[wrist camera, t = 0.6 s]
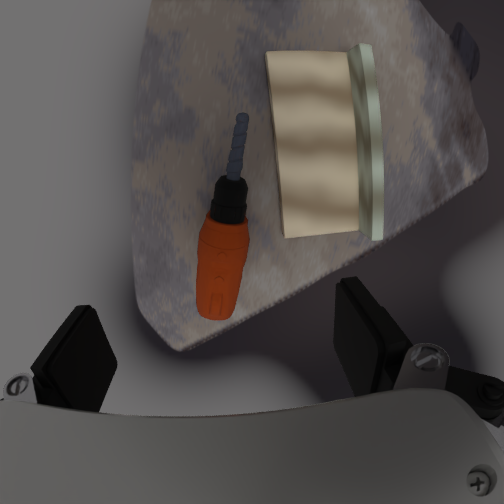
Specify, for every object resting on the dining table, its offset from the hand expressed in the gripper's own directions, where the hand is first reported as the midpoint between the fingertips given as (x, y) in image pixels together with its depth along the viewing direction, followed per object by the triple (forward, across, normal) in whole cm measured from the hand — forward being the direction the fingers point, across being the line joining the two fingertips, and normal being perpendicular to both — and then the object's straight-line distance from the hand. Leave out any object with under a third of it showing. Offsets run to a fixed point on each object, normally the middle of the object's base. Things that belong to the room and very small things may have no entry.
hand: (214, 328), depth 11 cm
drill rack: (+26, -12, -6) cm, 29 cm away
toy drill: (+26, 0, 0) cm, 26 cm away
